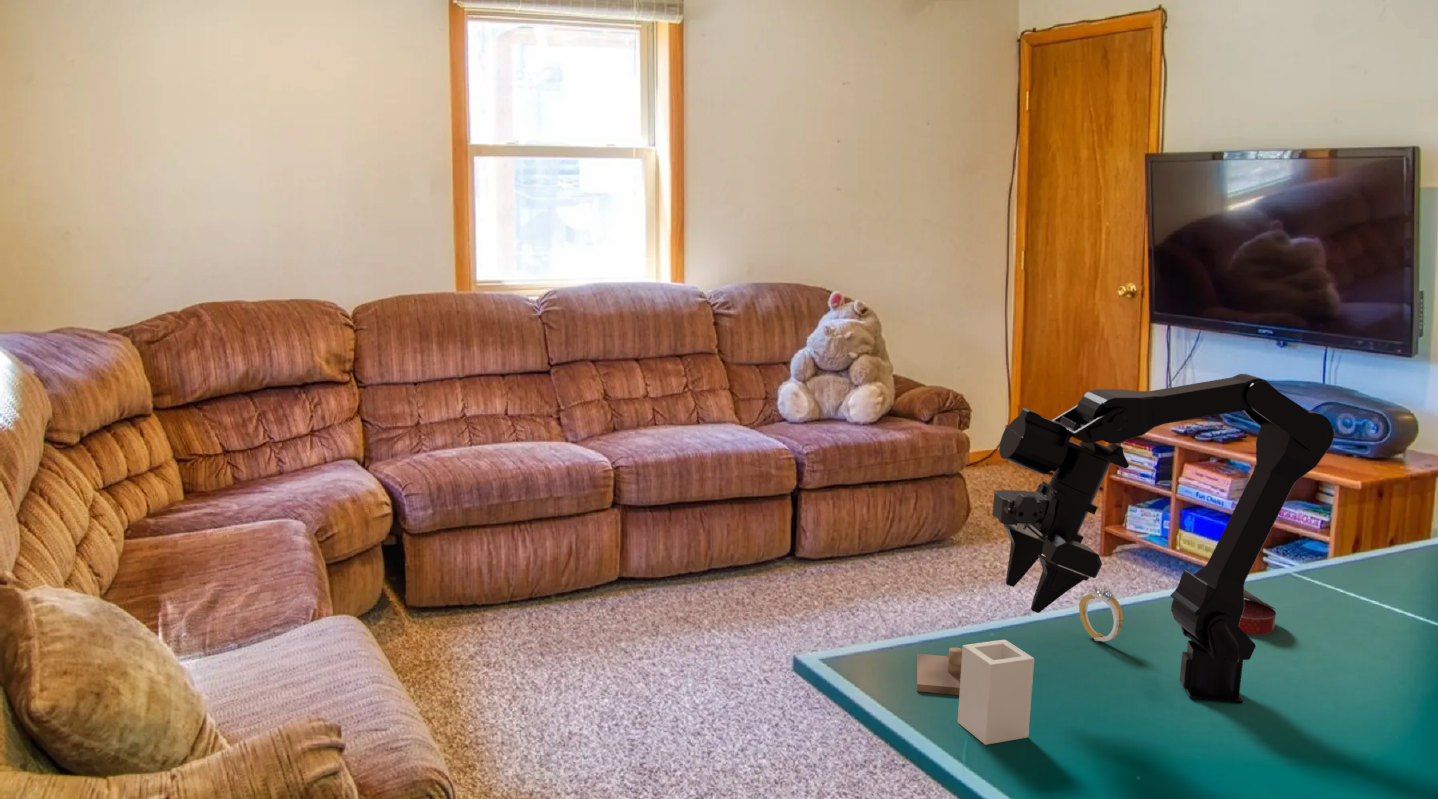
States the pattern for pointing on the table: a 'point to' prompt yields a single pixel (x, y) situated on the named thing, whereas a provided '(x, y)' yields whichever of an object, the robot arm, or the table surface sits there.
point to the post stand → (939, 672)
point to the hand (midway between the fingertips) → (1021, 598)
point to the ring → (1115, 608)
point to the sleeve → (995, 691)
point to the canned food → (1257, 616)
